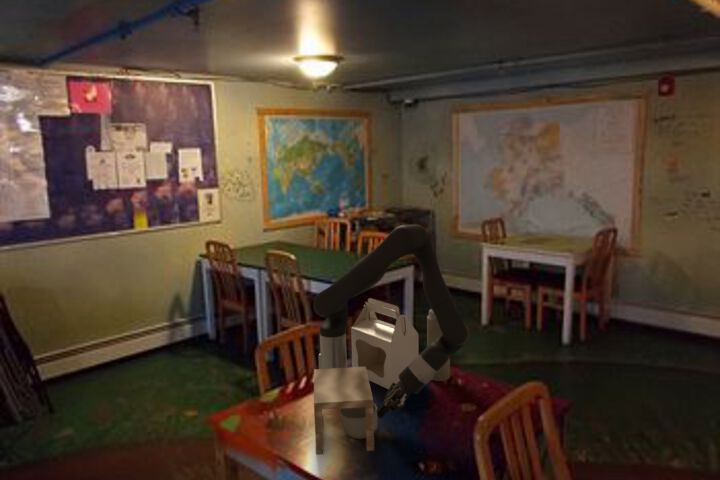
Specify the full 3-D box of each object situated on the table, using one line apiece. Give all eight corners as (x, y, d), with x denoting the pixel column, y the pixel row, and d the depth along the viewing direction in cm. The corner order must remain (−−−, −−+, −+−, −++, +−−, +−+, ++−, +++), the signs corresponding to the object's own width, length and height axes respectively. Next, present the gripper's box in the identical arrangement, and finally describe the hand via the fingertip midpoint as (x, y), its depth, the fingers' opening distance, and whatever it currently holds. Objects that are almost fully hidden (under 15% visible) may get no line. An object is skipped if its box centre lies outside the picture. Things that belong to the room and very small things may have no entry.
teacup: (374, 444, 156) (373, 418, 155) (336, 441, 159) (335, 415, 157) (382, 420, 170) (381, 396, 169) (347, 418, 172) (347, 393, 171)
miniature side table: (366, 411, 176) (365, 366, 174) (374, 450, 153) (373, 399, 151) (316, 414, 175) (314, 369, 172) (316, 454, 152) (313, 403, 150)
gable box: (351, 372, 207) (349, 299, 202) (378, 363, 215) (376, 292, 210) (392, 391, 190) (391, 312, 185) (419, 380, 198) (419, 304, 193)
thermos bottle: (427, 371, 205) (426, 298, 200) (449, 372, 204) (449, 298, 200) (427, 380, 197) (427, 304, 193) (450, 381, 196) (450, 304, 192)
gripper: (405, 357, 169) (366, 398, 170) (412, 374, 156) (370, 418, 157) (422, 372, 170) (384, 412, 171) (431, 391, 157) (389, 434, 158)
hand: (377, 415), depth 164 cm, fingers closed
